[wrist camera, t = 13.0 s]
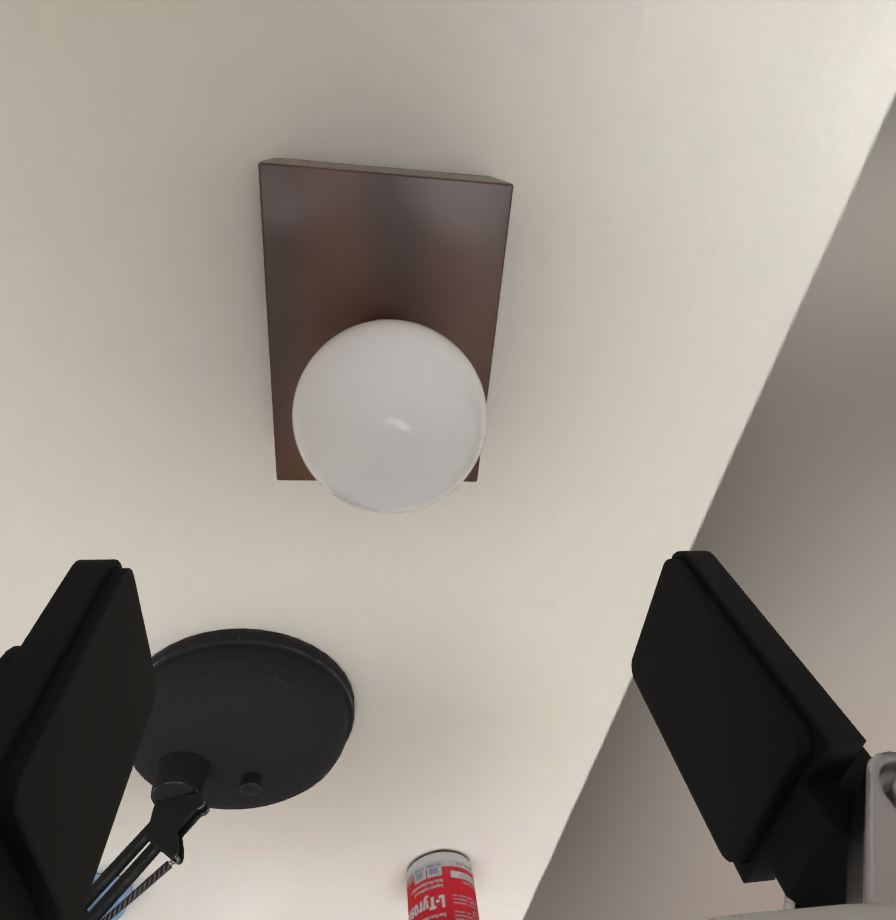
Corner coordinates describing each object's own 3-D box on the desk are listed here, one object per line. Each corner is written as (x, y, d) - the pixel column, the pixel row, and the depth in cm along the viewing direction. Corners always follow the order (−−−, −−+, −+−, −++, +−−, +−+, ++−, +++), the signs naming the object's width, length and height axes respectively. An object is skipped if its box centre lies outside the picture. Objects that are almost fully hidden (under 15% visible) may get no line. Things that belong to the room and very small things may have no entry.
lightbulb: (367, 434, 29) (371, 586, 19) (279, 326, 26) (231, 442, 16) (479, 361, 28) (543, 482, 18) (401, 240, 25) (427, 309, 15)
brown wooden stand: (287, 437, 33) (276, 480, 29) (273, 157, 27) (257, 162, 23) (463, 440, 35) (477, 482, 31) (491, 176, 28) (514, 184, 24)
